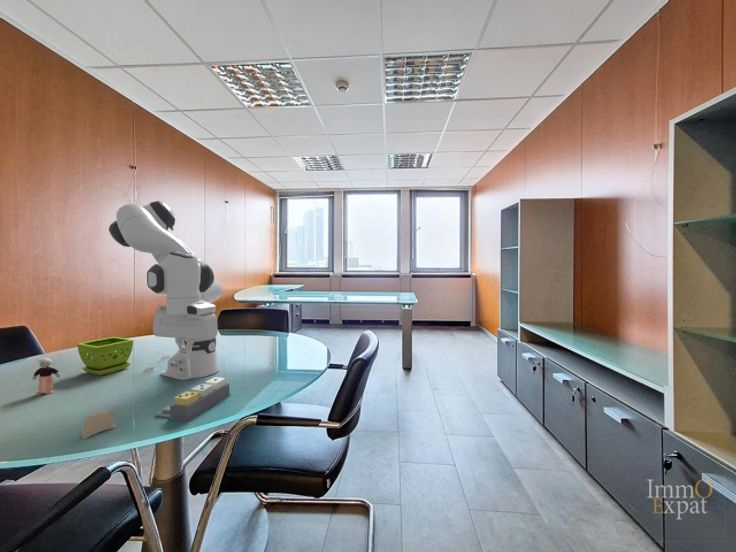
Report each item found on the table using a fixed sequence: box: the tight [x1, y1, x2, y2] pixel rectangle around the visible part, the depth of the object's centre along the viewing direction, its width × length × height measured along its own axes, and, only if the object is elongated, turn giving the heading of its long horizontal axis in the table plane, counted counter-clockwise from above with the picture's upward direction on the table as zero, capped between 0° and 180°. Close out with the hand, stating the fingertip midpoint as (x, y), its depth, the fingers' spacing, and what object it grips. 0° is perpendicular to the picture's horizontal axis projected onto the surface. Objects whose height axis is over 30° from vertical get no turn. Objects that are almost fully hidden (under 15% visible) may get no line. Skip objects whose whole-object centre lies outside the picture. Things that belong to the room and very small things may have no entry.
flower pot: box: [77, 336, 134, 376], centre depth 129 cm, size 14×14×13 cm
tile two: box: [190, 383, 213, 398], centre depth 97 cm, size 4×4×4 cm
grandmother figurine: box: [31, 356, 61, 396], centre depth 107 cm, size 8×4×13 cm, turn 117°
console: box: [154, 382, 232, 422], centre depth 98 cm, size 12×18×4 cm, turn 166°
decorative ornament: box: [81, 404, 120, 440], centre depth 84 cm, size 4×8×5 cm, turn 144°
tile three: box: [174, 391, 199, 407], centre depth 91 cm, size 4×4×4 cm
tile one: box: [204, 376, 227, 390], centre depth 103 cm, size 4×4×4 cm
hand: (185, 352), depth 91 cm, fingers closed
